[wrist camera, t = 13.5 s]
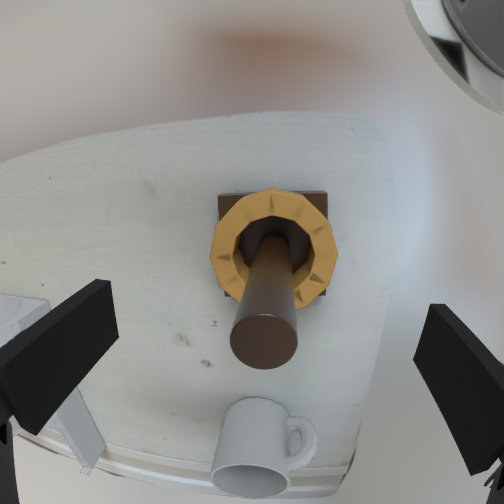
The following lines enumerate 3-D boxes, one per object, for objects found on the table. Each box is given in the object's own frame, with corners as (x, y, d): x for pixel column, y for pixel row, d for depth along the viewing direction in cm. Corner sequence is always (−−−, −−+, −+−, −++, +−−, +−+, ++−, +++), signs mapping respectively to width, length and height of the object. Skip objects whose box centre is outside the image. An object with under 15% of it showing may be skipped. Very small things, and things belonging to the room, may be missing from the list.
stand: (324, 190, 23) (386, 229, 9) (323, 288, 25) (358, 416, 11) (221, 193, 24) (138, 234, 10) (227, 289, 26) (175, 412, 12)
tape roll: (351, 243, 22) (360, 254, 19) (276, 314, 24) (275, 334, 21) (271, 166, 21) (269, 166, 18) (198, 247, 23) (187, 258, 21)
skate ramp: (106, 445, 35) (79, 491, 26) (14, 409, 38) (-14, 439, 28) (47, 300, 29) (-11, 341, 19) (-37, 287, 31) (-79, 311, 21)
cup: (214, 402, 30) (195, 466, 21) (305, 381, 28) (309, 451, 19) (240, 441, 31) (229, 501, 23) (322, 425, 29) (328, 488, 21)
